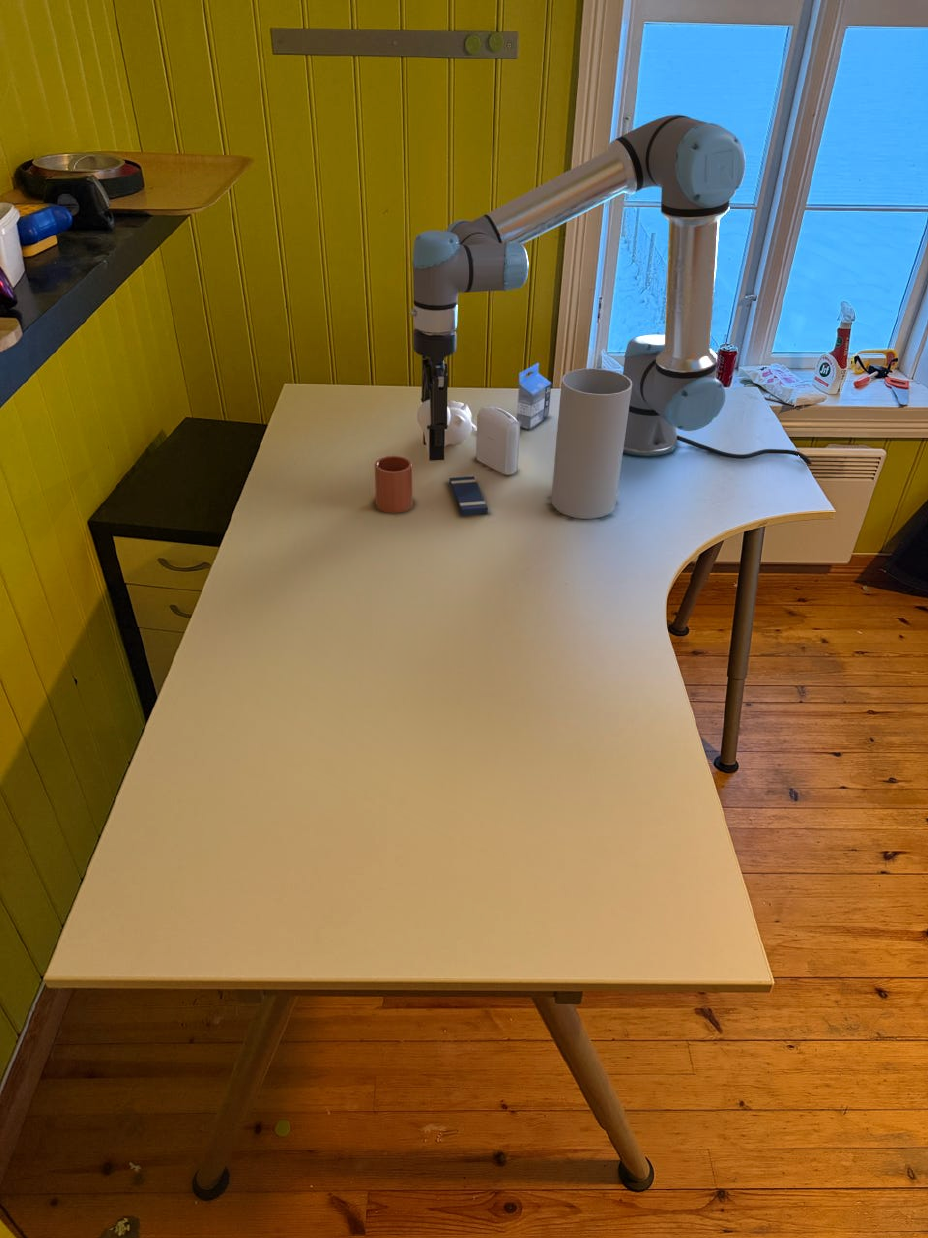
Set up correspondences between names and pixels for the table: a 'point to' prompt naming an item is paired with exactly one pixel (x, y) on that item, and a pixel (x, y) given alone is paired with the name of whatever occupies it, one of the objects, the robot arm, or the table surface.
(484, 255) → the robot arm
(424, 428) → the lightbulb
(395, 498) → the pot
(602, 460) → the cylinder vase
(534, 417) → the ink cartridge box
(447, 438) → the cat figurine
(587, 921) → the table surface
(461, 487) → the towel
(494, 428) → the photo printer
